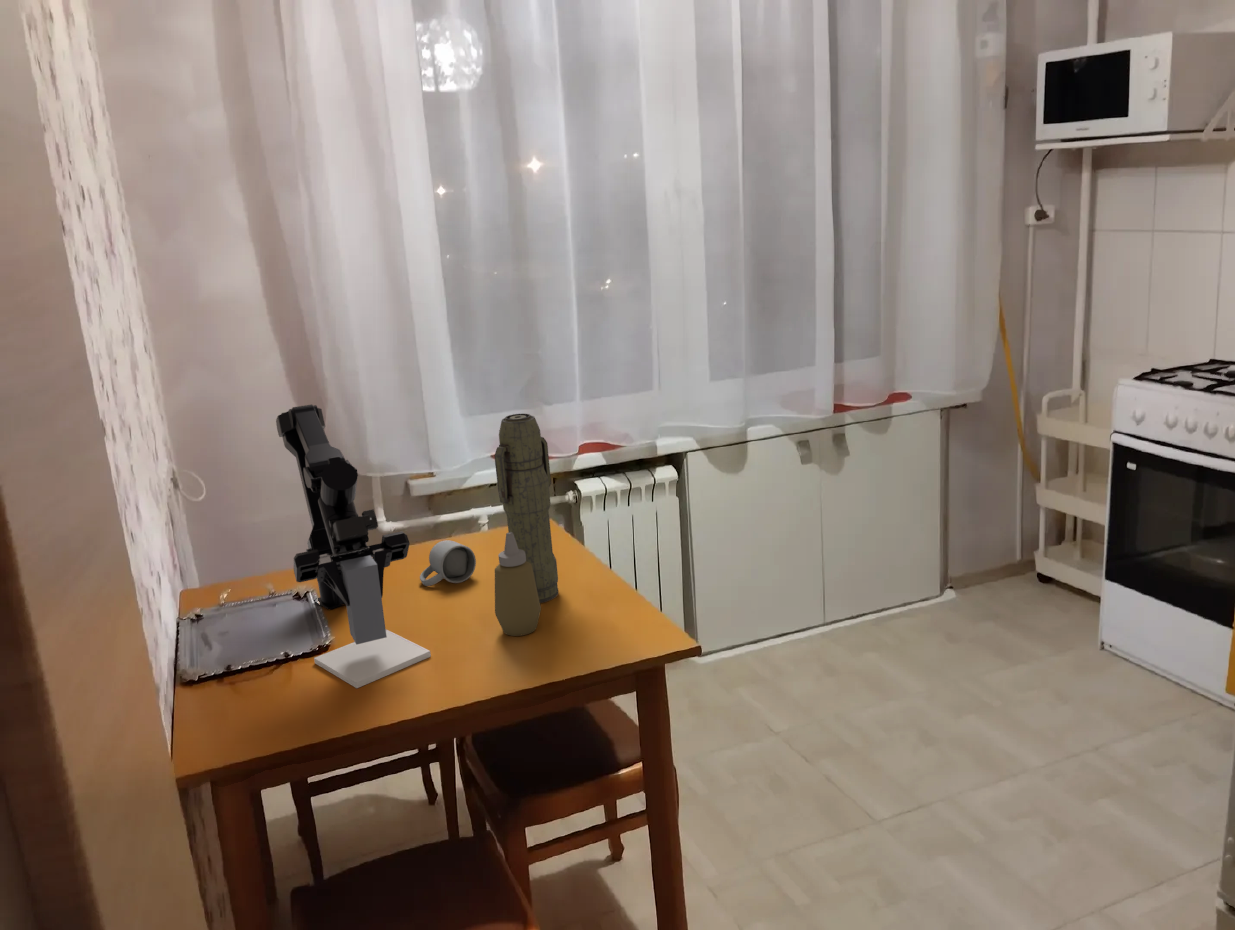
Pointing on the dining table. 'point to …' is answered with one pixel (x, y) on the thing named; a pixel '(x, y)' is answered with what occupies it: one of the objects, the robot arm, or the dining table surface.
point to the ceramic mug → (449, 563)
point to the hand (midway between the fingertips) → (365, 601)
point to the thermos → (527, 496)
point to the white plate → (371, 659)
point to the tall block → (363, 599)
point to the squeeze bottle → (515, 591)
